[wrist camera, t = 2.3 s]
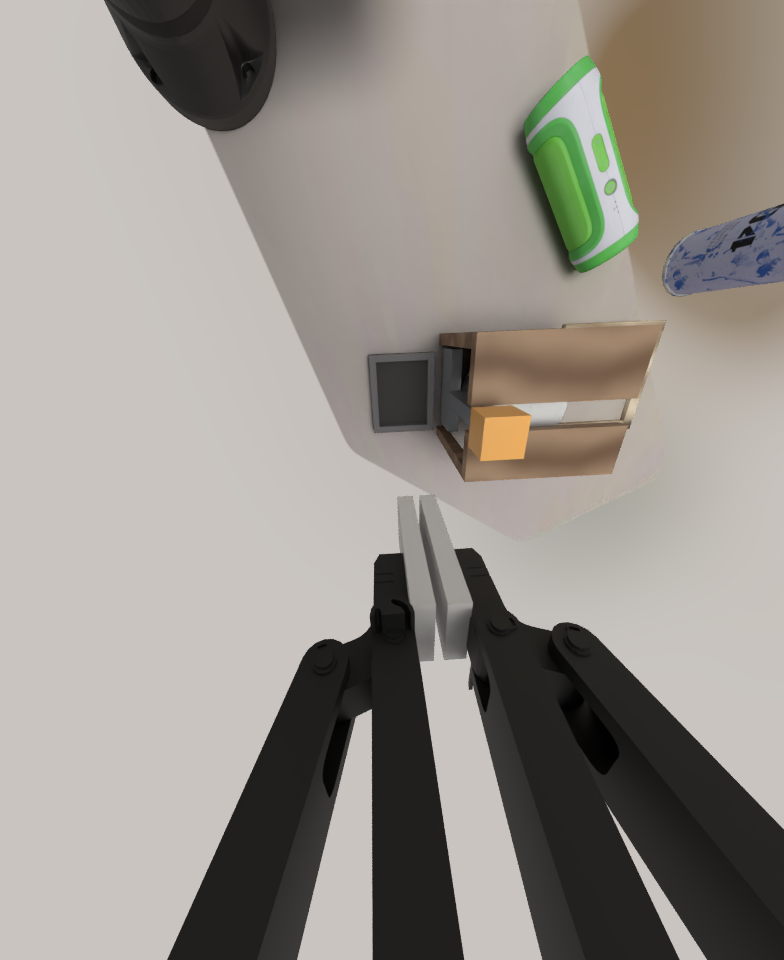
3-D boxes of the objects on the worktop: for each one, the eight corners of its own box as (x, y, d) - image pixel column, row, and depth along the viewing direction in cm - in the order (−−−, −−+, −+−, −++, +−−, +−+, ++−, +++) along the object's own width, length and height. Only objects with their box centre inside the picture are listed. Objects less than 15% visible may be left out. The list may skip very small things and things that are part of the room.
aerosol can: (699, 215, 39) (975, 111, 21) (731, 253, 41) (1006, 188, 23) (650, 275, 42) (856, 229, 24) (682, 308, 44) (893, 288, 26)
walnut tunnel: (439, 333, 44) (477, 332, 27) (555, 328, 44) (662, 324, 28) (436, 434, 51) (464, 481, 34) (536, 429, 51) (611, 473, 35)
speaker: (613, 242, 40) (660, 223, 33) (563, 280, 42) (599, 270, 35) (564, 88, 33) (612, 25, 26) (508, 141, 35) (540, 95, 28)
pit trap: (369, 354, 45) (368, 355, 43) (432, 351, 45) (435, 352, 43) (374, 429, 50) (374, 433, 48) (431, 426, 50) (433, 430, 48)
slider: (435, 348, 44) (491, 360, 22) (460, 347, 44) (541, 358, 22) (433, 421, 49) (477, 489, 27) (456, 420, 49) (518, 487, 28)
